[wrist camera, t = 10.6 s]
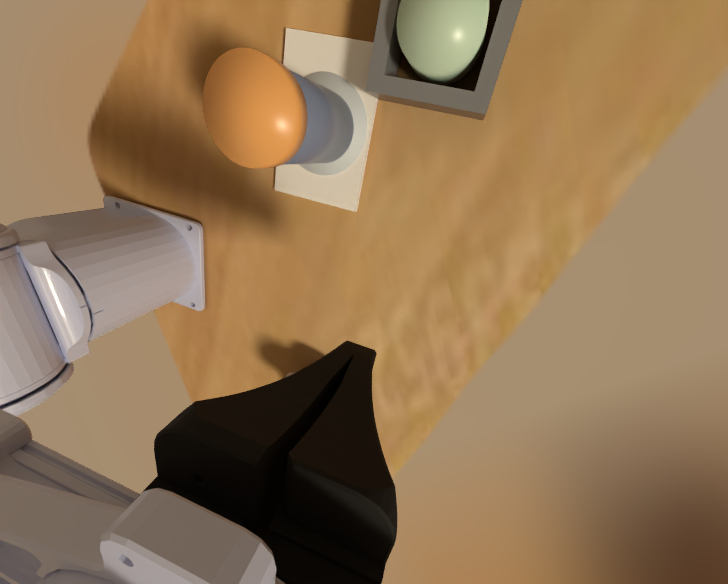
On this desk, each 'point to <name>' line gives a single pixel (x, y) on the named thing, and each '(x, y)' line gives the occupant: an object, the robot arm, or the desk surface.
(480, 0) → the button
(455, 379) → the desk surface
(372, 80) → the button housing
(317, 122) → the orange-capped grey cylinder
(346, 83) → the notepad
